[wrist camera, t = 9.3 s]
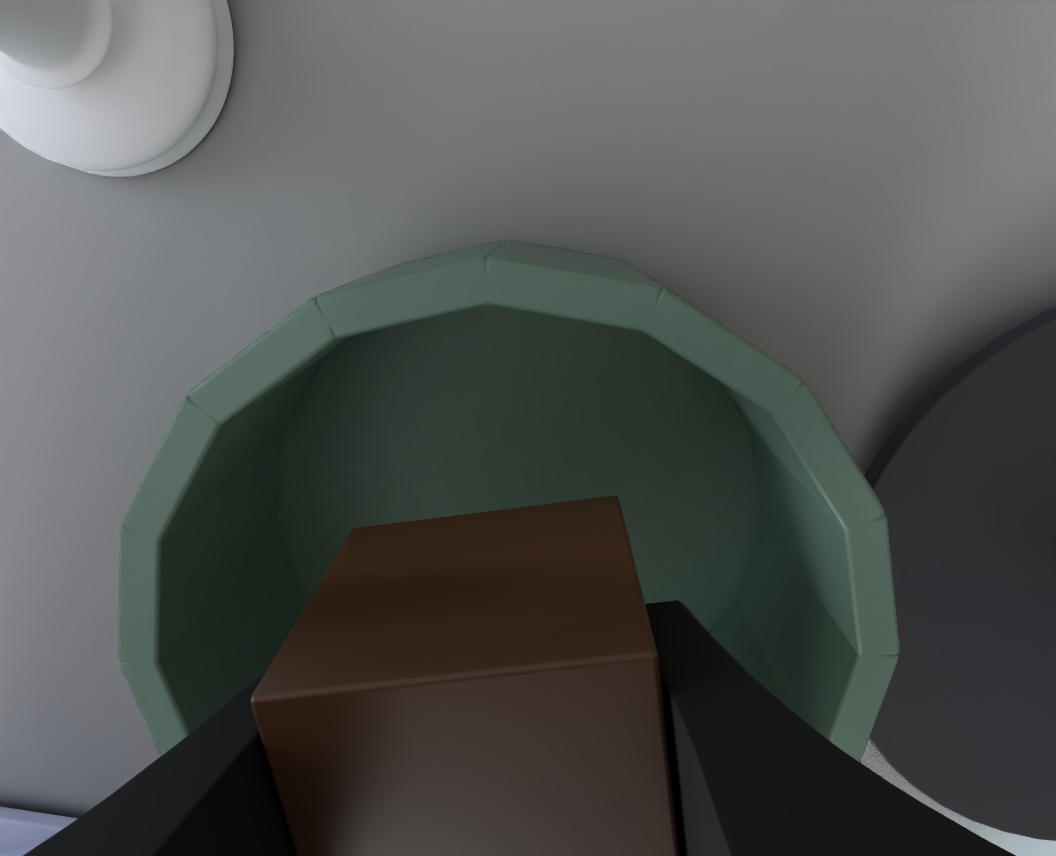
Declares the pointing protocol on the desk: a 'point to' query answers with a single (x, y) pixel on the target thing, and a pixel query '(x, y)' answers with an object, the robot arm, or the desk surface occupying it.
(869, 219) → the desk surface
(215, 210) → the desk surface
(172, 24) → the chess piece
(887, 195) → the desk surface
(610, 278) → the tub
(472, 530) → the block
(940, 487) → the lid
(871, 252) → the desk surface
